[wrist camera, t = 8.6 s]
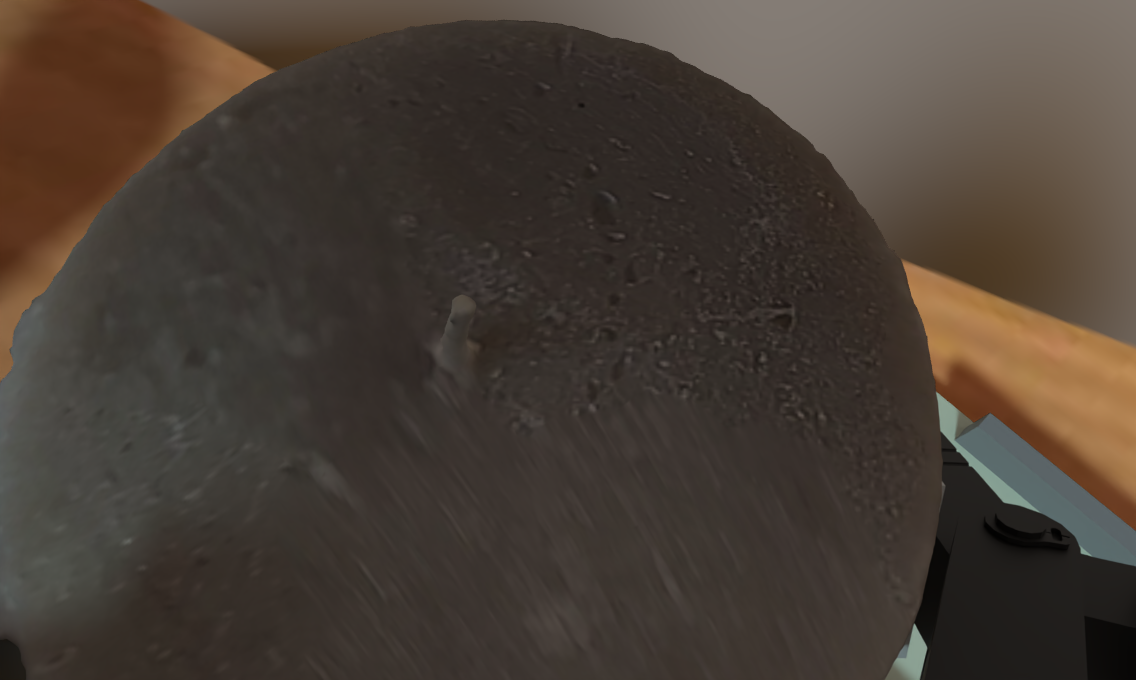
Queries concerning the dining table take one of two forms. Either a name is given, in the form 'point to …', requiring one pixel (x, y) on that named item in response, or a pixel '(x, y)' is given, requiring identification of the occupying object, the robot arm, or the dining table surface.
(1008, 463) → the deck plate
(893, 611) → the pillar candle
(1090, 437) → the dining table surface
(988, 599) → the robot arm
